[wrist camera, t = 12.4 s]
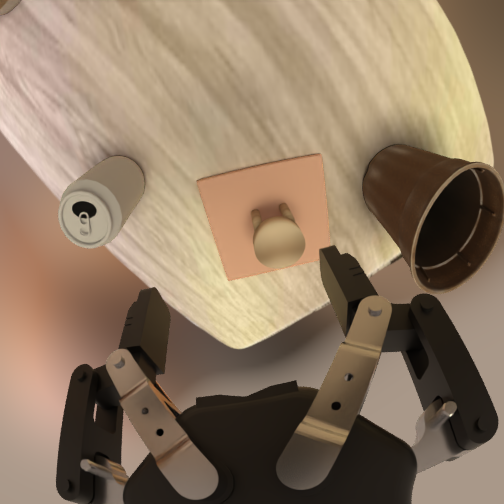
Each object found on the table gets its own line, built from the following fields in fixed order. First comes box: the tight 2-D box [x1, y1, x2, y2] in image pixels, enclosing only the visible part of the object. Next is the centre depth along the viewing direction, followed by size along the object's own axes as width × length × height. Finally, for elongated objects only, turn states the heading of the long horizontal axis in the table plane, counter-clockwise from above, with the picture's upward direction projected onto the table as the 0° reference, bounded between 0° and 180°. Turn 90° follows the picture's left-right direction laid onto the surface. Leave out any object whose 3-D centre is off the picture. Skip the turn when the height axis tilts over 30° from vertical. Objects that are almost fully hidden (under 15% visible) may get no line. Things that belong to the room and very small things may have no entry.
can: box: [58, 156, 145, 248], centre depth 28 cm, size 8×8×12 cm
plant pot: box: [363, 145, 504, 294], centre depth 30 cm, size 16×16×16 cm
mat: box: [197, 154, 330, 281], centre depth 38 cm, size 16×16×1 cm
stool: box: [251, 203, 306, 269], centre depth 35 cm, size 6×6×6 cm
